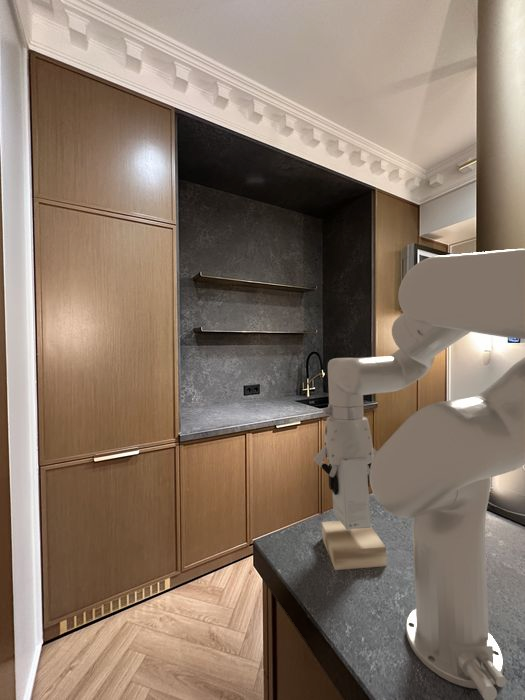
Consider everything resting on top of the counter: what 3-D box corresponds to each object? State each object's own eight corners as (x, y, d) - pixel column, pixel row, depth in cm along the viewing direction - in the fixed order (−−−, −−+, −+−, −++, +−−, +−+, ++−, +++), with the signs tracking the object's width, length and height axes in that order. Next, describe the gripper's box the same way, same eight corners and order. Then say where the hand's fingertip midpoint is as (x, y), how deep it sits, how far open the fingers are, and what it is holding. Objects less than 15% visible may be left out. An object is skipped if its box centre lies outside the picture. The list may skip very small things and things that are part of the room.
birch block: (386, 566, 66) (385, 547, 66) (334, 570, 65) (334, 550, 65) (366, 535, 77) (365, 518, 77) (322, 538, 76) (321, 521, 76)
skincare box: (371, 528, 67) (369, 459, 67) (344, 531, 66) (342, 461, 66) (354, 508, 76) (353, 447, 76) (330, 511, 75) (329, 449, 75)
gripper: (312, 417, 67) (315, 501, 67) (390, 413, 68) (394, 496, 68) (305, 410, 74) (308, 486, 74) (376, 407, 75) (379, 481, 75)
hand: (349, 490), depth 71 cm, fingers closed on skincare box, 6 cm apart
